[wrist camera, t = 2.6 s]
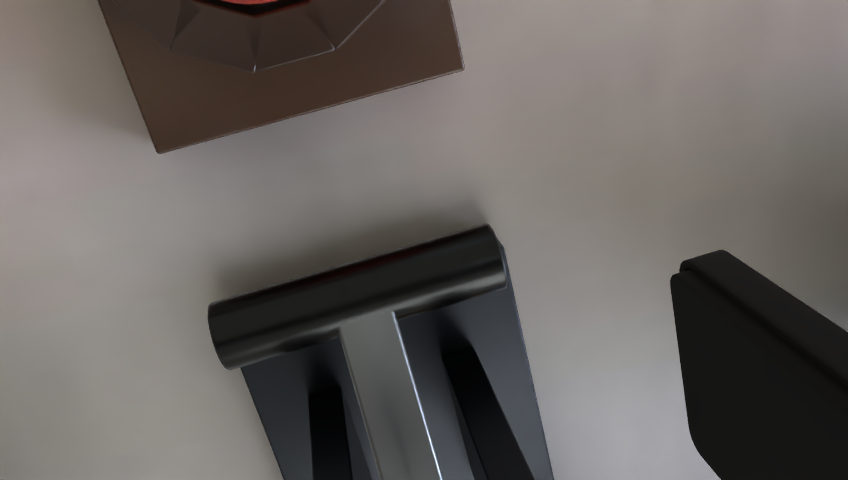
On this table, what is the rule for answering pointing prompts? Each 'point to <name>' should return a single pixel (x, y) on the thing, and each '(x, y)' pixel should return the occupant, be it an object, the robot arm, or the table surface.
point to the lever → (367, 330)
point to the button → (249, 1)
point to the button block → (271, 58)
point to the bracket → (438, 390)
